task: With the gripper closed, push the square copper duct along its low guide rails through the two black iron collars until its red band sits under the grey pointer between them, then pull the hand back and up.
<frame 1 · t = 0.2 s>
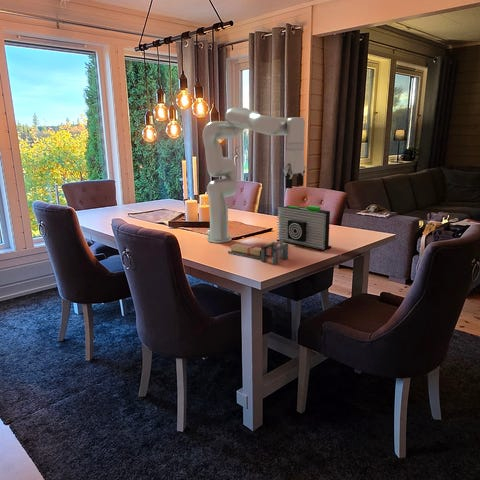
hand: (294, 186, 178), 31 cm above the table, tool pointing down, fingers open, 9 cm apart
collar rig: (274, 260, 177), on the table
guide: (248, 254, 185), on the table
electronic device: (301, 245, 201), on the table
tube: (247, 255, 186), on the table
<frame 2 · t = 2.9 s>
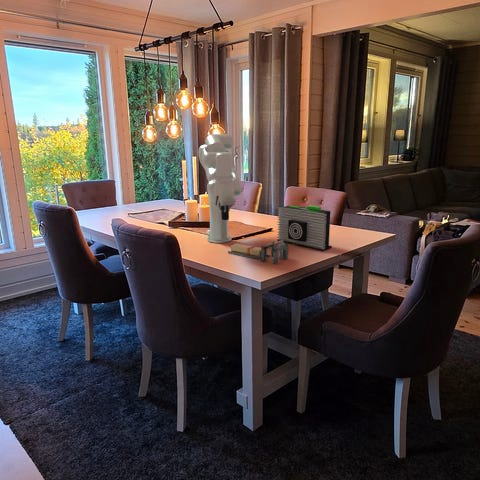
hand: (225, 219, 189), 15 cm above the table, tool pointing down, fingers closed
nothing on the table moved.
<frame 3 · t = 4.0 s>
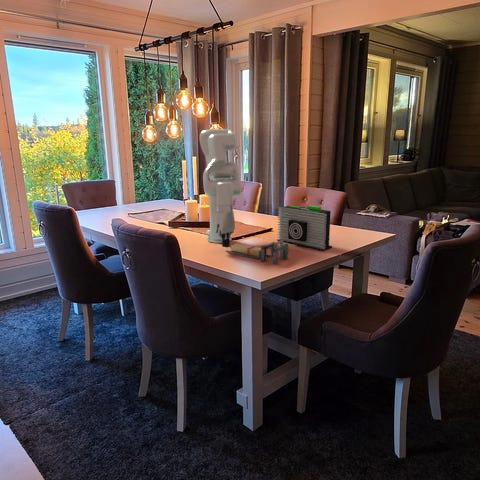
hand: (225, 246, 192), 2 cm above the table, tool pointing down, fingers closed
nothing on the table moved.
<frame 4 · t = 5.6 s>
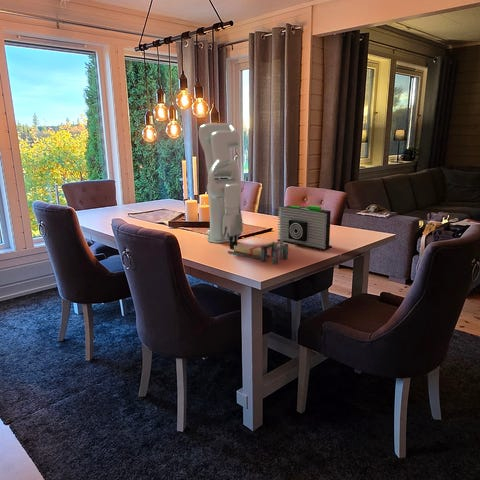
hand: (233, 249, 190), 1 cm above the table, tool pointing down, fingers closed
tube: (250, 255, 185), on the table
everything else where it was.
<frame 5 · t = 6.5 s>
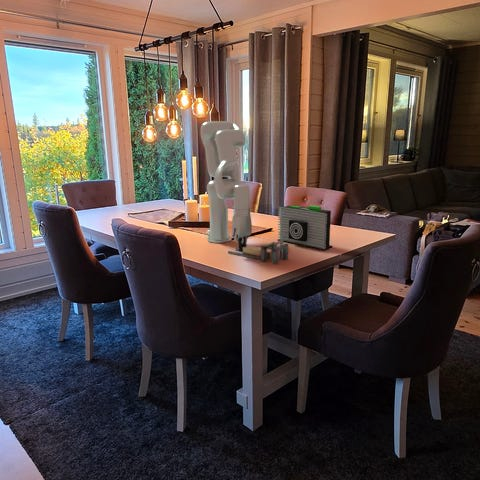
hand: (242, 250, 187), 1 cm above the table, tool pointing down, fingers closed
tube: (259, 257, 182), on the table, touching gripper
everything else where it was.
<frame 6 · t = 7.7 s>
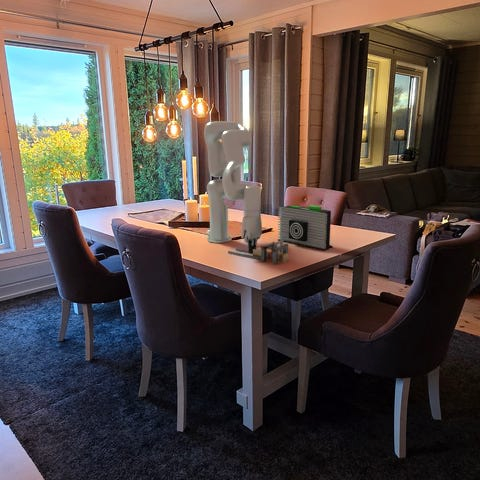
hand: (252, 252, 184), 1 cm above the table, tool pointing down, fingers closed
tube: (270, 259, 179), on the table, touching gripper
everything else where it was.
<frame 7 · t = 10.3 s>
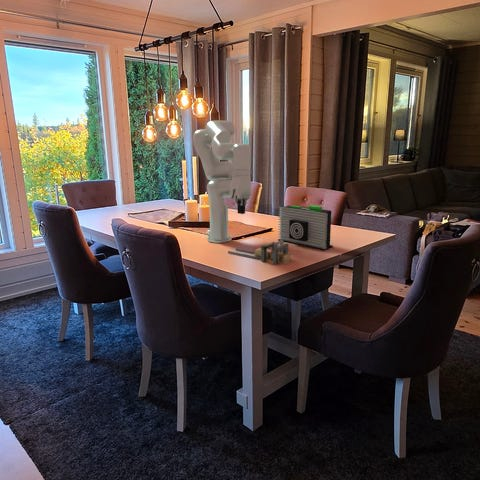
hand: (241, 213, 183), 19 cm above the table, tool pointing down, fingers closed
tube: (272, 260, 178), on the table
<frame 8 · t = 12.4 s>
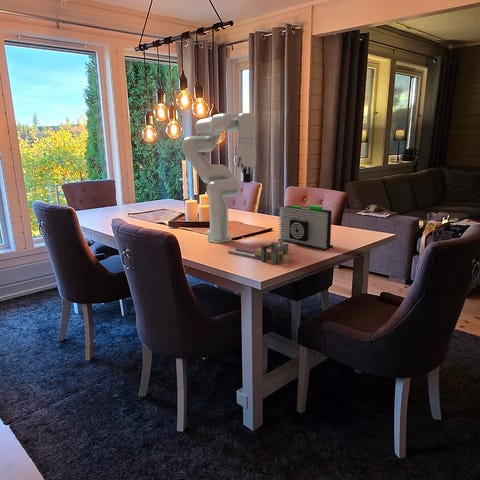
hand: (246, 182, 187), 32 cm above the table, tool pointing down, fingers closed
at the end: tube 0.4 cm from the target spot, on the table; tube moved 13.4 cm from its start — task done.
